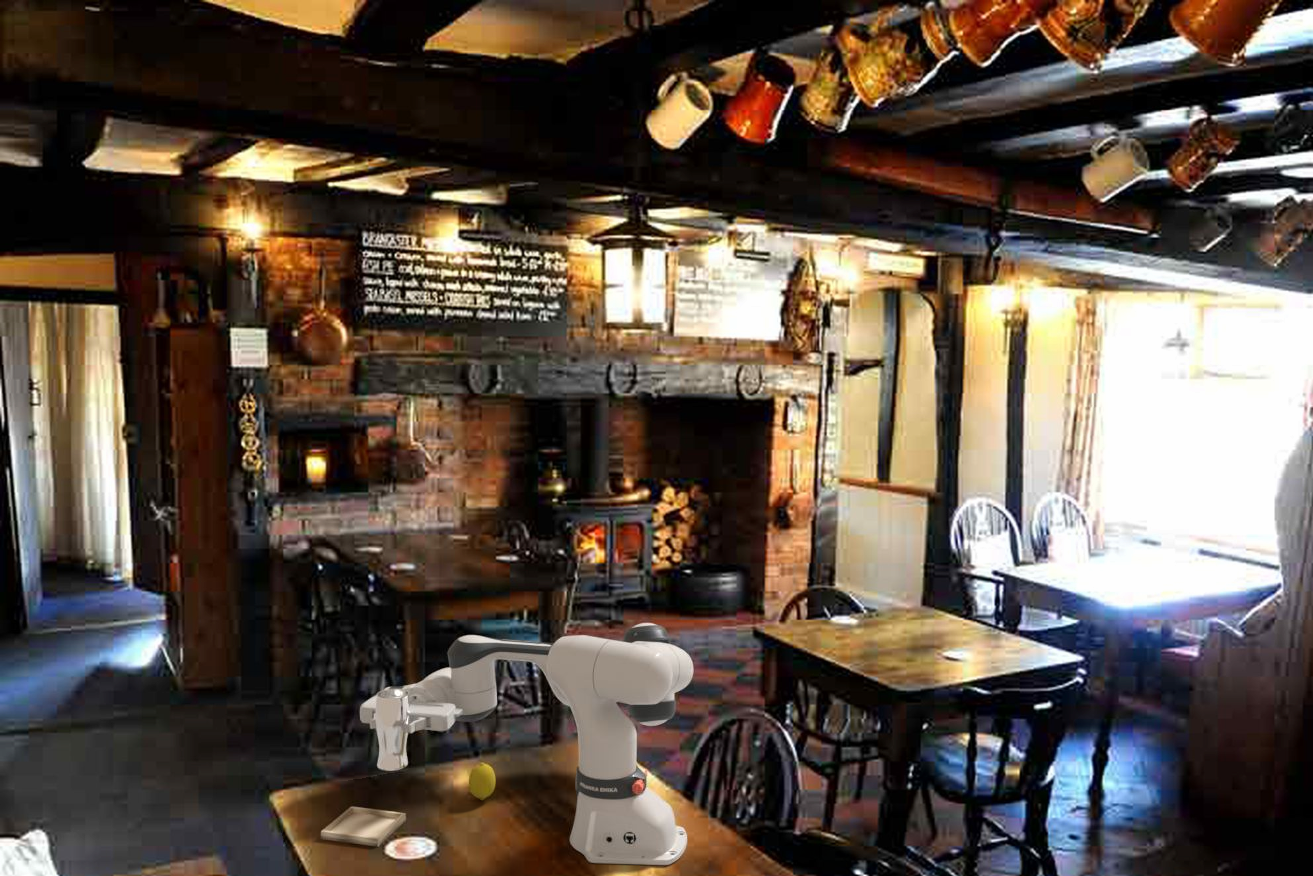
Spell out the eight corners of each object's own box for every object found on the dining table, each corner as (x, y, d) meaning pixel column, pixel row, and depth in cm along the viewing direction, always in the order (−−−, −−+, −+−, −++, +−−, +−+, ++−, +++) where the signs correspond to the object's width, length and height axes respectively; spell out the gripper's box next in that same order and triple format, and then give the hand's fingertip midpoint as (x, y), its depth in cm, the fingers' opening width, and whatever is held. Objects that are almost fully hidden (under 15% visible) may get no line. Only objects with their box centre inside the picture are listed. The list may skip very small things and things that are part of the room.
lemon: (463, 802, 205) (463, 765, 204) (479, 792, 210) (479, 755, 209) (484, 808, 202) (484, 770, 202) (501, 797, 207) (501, 760, 206)
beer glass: (400, 773, 198) (400, 700, 197) (368, 770, 199) (369, 697, 199) (415, 760, 205) (416, 689, 204) (385, 757, 206) (385, 686, 205)
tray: (405, 820, 196) (405, 813, 196) (377, 846, 186) (377, 839, 185) (351, 813, 199) (351, 806, 199) (320, 839, 188) (320, 831, 188)
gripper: (466, 723, 212) (437, 747, 199) (380, 714, 217) (346, 737, 203) (466, 694, 211) (437, 717, 198) (379, 686, 216) (345, 707, 203)
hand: (390, 727), depth 201 cm, fingers closed on beer glass, 6 cm apart
